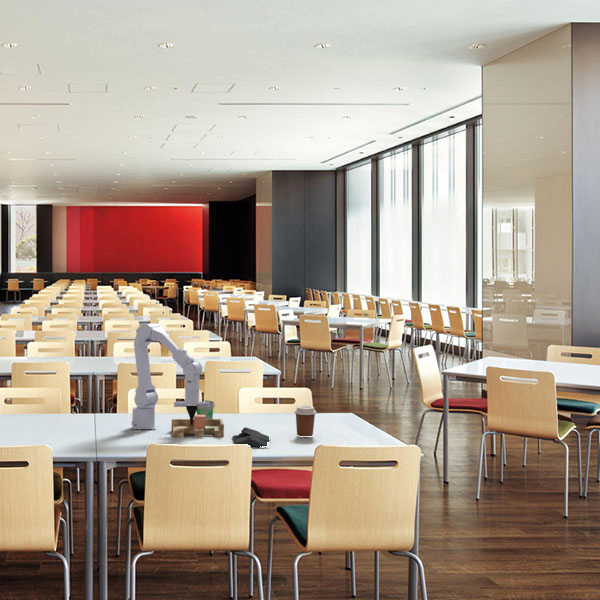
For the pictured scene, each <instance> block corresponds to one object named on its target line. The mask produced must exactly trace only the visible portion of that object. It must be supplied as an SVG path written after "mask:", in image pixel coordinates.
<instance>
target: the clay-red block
mask: <svg viewBox="0 0 600 600" xmlns="http://www.w3.org/2000/svg"><path fill="white" fill-rule="evenodd" d="M193 419H194V427H197V428H205V420H206V416H205V415H197V414H195V415H194V418H193Z"/></svg>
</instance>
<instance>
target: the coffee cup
mask: <svg viewBox="0 0 600 600" xmlns="http://www.w3.org/2000/svg"><path fill="white" fill-rule="evenodd" d="M293 413H294V414H295V421H296V422H295V423H296V425H295V427H296V436H297V435H299V436H312V435H313V436H314V427H315V416H316V415H317V411H316V409H315V407H314V406H310V405H299V406H297V407H296V409H294V412H293Z"/></svg>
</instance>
